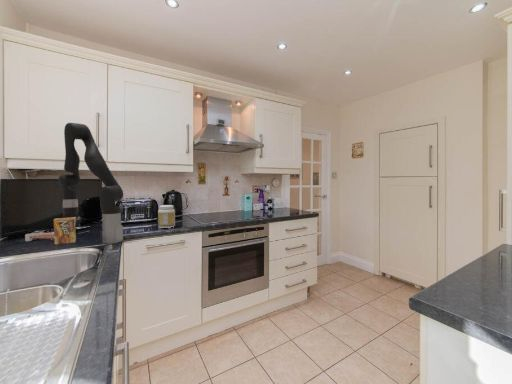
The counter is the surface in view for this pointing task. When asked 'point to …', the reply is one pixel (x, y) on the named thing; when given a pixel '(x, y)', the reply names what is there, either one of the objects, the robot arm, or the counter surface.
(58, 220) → the candy box
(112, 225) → the robot arm
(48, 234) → the link
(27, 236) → the steel keeper
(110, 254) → the counter surface
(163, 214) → the supplement tub
